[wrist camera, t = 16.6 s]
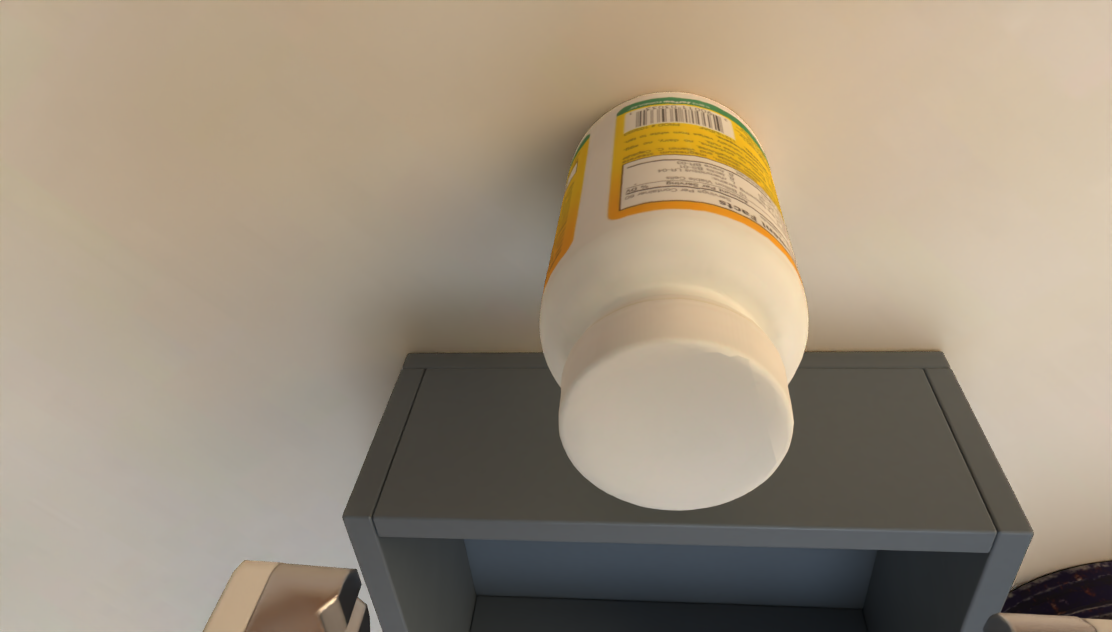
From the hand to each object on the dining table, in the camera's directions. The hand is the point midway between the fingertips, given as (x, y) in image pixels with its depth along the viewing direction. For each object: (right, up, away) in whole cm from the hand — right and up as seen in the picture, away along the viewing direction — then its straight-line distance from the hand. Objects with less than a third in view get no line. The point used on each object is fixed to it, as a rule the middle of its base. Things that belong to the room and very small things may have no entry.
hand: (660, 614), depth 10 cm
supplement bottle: (+2, +8, +11) cm, 13 cm away
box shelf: (+3, -2, +18) cm, 18 cm away
